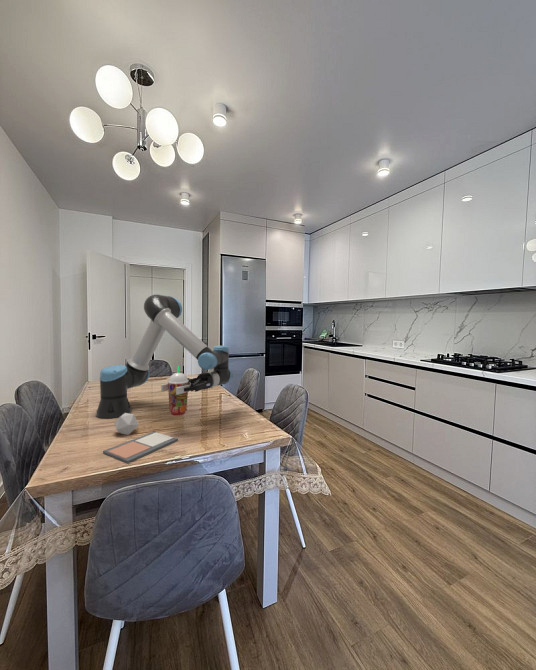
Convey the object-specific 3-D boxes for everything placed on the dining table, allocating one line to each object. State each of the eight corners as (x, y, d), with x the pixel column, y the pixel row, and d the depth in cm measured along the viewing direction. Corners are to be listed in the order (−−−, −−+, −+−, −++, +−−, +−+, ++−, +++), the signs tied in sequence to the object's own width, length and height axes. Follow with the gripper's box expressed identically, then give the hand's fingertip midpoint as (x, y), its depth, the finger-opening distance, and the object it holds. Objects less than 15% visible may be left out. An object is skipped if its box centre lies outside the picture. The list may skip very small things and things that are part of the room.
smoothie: (176, 418, 113) (177, 368, 112) (163, 414, 118) (163, 366, 117) (192, 412, 120) (193, 365, 120) (179, 409, 125) (179, 363, 124)
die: (143, 432, 119) (139, 411, 124) (132, 429, 112) (129, 406, 116) (123, 440, 119) (121, 418, 123) (112, 437, 111) (109, 414, 115)
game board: (103, 453, 99) (102, 450, 99) (154, 433, 117) (154, 430, 117) (128, 463, 92) (127, 460, 92) (178, 440, 110) (178, 438, 110)
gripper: (225, 391, 129) (187, 402, 109) (191, 385, 140) (151, 395, 120) (225, 374, 129) (187, 383, 109) (191, 370, 139) (151, 377, 120)
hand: (169, 389), depth 114 cm, fingers closed on smoothie, 8 cm apart
